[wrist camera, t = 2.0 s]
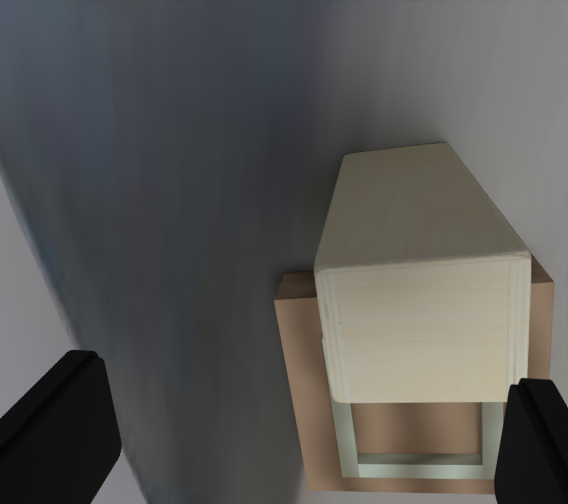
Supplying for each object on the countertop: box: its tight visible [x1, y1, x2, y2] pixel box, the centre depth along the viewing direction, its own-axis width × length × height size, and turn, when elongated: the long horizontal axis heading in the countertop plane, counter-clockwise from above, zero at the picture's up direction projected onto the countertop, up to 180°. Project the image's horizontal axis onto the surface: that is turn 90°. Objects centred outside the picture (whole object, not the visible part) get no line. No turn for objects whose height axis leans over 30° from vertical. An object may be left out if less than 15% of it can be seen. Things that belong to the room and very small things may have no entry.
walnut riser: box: [274, 254, 554, 494], centre depth 41 cm, size 20×20×6 cm
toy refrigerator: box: [314, 143, 531, 403], centre depth 28 cm, size 8×7×21 cm
